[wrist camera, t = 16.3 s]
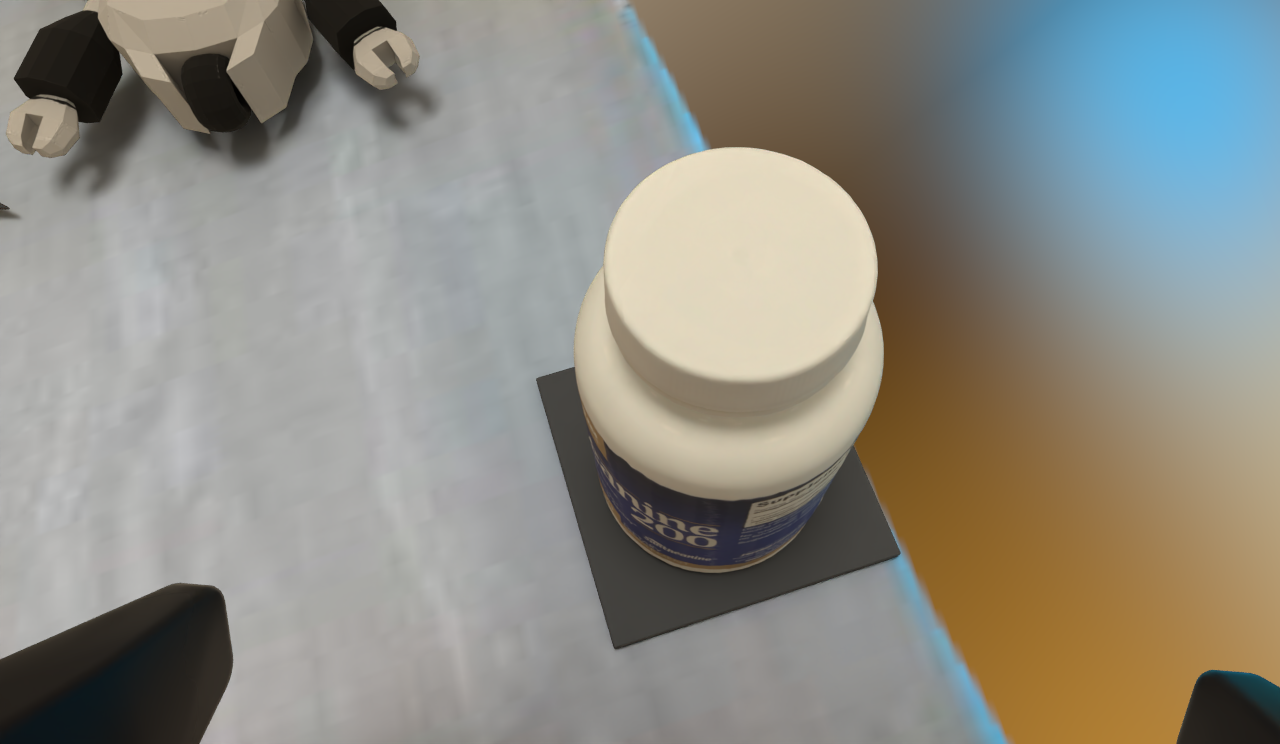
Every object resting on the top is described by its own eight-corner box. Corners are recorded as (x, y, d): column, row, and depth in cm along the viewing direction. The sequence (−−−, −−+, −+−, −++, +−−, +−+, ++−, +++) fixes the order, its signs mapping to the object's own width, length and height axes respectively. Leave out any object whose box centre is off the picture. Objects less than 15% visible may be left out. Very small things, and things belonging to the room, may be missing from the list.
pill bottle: (555, 452, 22) (480, 235, 13) (719, 329, 23) (753, 54, 14) (696, 627, 20) (720, 512, 11) (866, 483, 21) (1010, 277, 12)
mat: (897, 556, 21) (901, 553, 21) (614, 649, 20) (614, 648, 20) (789, 308, 24) (791, 302, 23) (537, 382, 23) (536, 377, 23)
